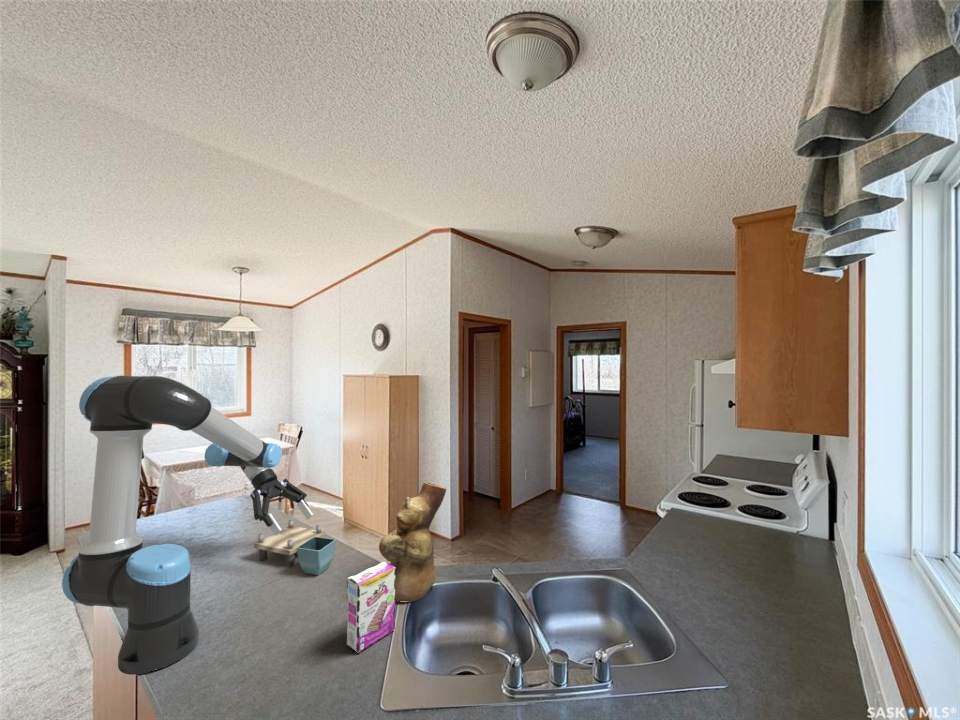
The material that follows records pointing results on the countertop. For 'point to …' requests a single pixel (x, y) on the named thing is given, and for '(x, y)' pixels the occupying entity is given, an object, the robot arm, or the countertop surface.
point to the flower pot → (316, 554)
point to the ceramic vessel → (413, 544)
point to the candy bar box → (370, 605)
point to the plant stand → (286, 541)
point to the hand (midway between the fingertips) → (295, 524)
